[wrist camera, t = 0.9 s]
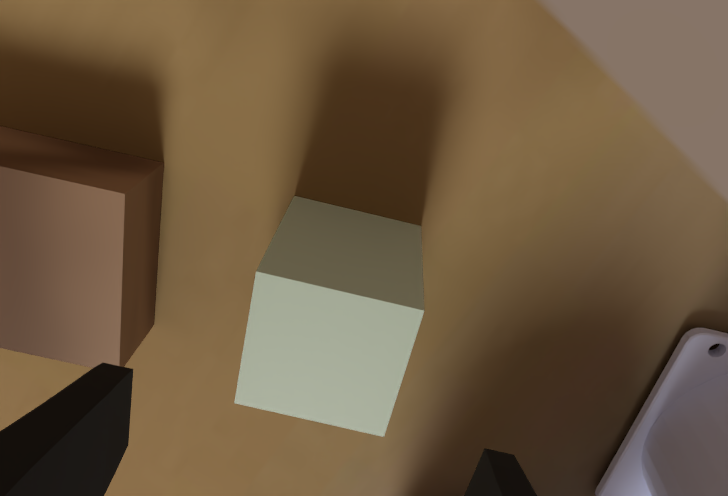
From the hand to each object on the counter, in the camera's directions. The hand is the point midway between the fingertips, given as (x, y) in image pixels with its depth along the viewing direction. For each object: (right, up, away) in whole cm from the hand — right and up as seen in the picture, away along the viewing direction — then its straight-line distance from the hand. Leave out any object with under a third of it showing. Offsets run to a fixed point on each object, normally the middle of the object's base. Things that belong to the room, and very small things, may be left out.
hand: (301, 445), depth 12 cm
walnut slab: (-8, +5, +7) cm, 12 cm away
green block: (+1, +3, +7) cm, 8 cm away
